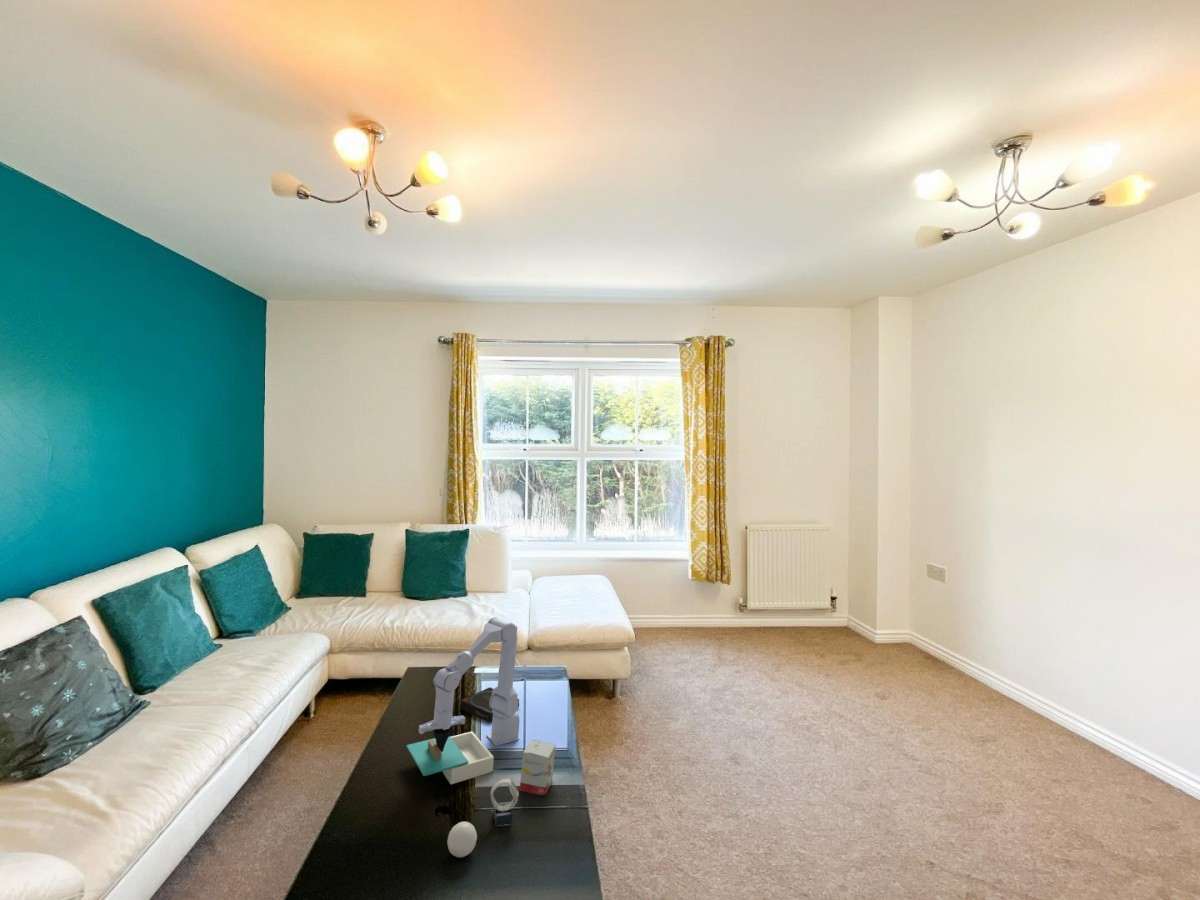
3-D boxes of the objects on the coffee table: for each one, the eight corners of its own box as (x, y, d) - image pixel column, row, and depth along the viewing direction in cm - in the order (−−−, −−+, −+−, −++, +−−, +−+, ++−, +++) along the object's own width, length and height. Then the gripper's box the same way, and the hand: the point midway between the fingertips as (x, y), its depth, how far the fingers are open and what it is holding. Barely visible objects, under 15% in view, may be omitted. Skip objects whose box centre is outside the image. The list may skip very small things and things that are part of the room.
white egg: (475, 863, 129) (478, 833, 129) (444, 866, 127) (447, 835, 127) (476, 835, 138) (479, 807, 139) (448, 836, 137) (450, 808, 137)
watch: (518, 824, 144) (521, 784, 144) (489, 828, 141) (492, 788, 141) (515, 811, 149) (518, 772, 149) (487, 815, 146) (490, 775, 147)
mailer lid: (448, 736, 176) (449, 727, 176) (468, 763, 162) (469, 753, 162) (406, 746, 168) (407, 737, 168) (423, 776, 154) (424, 765, 154)
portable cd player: (519, 708, 212) (519, 698, 212) (489, 724, 197) (490, 713, 198) (490, 696, 221) (490, 686, 221) (459, 710, 206) (460, 700, 206)
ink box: (545, 796, 157) (548, 757, 157) (518, 790, 158) (522, 751, 159) (553, 780, 165) (556, 742, 165) (528, 774, 167) (531, 738, 167)
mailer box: (471, 744, 181) (472, 731, 182) (492, 771, 167) (493, 756, 167) (431, 755, 173) (433, 741, 173) (450, 784, 159) (452, 769, 159)
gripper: (425, 718, 158) (421, 762, 158) (470, 708, 167) (466, 750, 167) (418, 708, 164) (414, 751, 164) (461, 699, 173) (458, 740, 172)
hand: (440, 750), depth 166 cm, fingers closed
